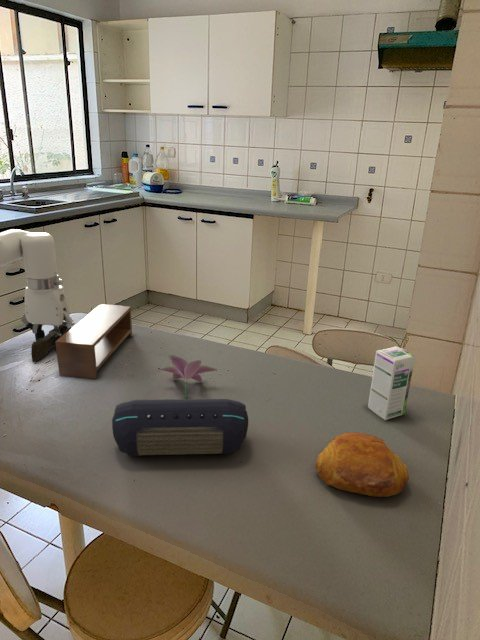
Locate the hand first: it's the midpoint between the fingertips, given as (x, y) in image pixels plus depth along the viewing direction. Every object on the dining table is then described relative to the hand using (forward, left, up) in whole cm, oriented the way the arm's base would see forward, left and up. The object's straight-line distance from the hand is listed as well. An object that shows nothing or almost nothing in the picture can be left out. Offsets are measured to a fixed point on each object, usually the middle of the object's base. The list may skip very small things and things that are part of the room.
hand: (50, 345), depth 125 cm
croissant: (+78, -37, -1) cm, 86 cm away
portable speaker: (+45, -36, -1) cm, 57 cm away
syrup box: (+86, -15, -1) cm, 87 cm away
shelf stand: (+14, -1, 0) cm, 14 cm away
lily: (+41, -14, -1) cm, 43 cm away
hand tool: (+1, 0, -1) cm, 1 cm away
